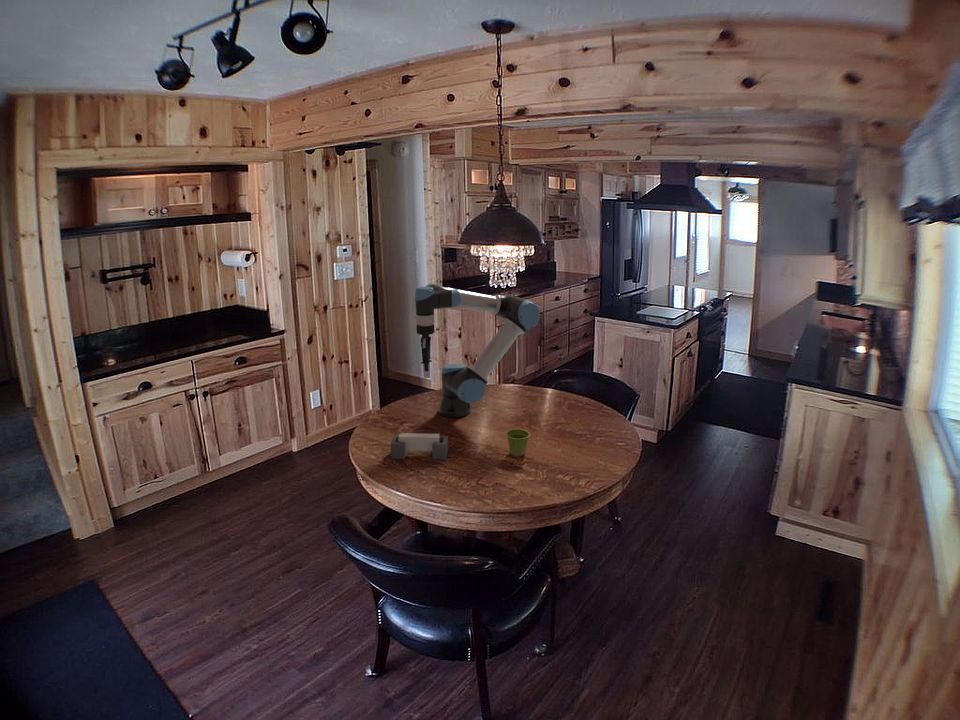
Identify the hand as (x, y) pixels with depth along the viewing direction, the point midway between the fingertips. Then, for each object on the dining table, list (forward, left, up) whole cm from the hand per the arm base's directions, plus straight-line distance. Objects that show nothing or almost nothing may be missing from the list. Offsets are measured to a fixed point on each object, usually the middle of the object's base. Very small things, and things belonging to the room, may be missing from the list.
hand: (427, 377), depth 255 cm
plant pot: (-20, +40, -25) cm, 51 cm away
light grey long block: (+14, +20, -22) cm, 33 cm away
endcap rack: (+14, +20, -24) cm, 35 cm away
